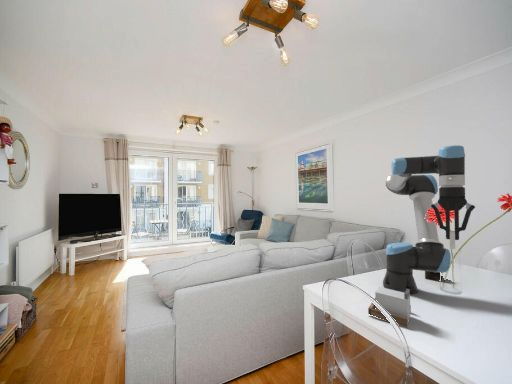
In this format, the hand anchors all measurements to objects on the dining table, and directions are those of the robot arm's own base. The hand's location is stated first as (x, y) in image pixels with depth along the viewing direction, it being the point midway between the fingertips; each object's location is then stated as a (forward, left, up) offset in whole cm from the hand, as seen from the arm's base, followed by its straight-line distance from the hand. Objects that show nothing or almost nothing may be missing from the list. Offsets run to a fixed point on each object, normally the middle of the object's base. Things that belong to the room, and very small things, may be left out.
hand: (452, 248), depth 87 cm
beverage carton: (-59, -7, -29) cm, 66 cm away
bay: (+8, -20, -28) cm, 35 cm away
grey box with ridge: (+8, -19, -28) cm, 35 cm away
